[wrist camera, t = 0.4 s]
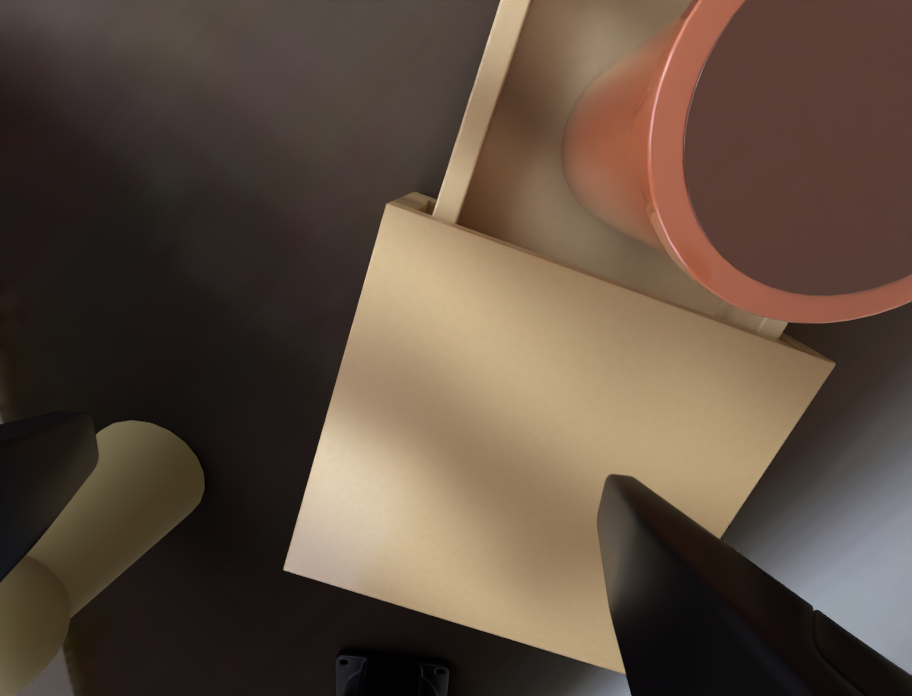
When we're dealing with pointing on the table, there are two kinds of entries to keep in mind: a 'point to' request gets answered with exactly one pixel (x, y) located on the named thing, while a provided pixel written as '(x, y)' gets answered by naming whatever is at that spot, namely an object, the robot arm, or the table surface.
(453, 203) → the drawer
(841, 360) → the table surface
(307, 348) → the table surface
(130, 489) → the cork
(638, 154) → the cup
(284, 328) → the table surface
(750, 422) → the cabinet
